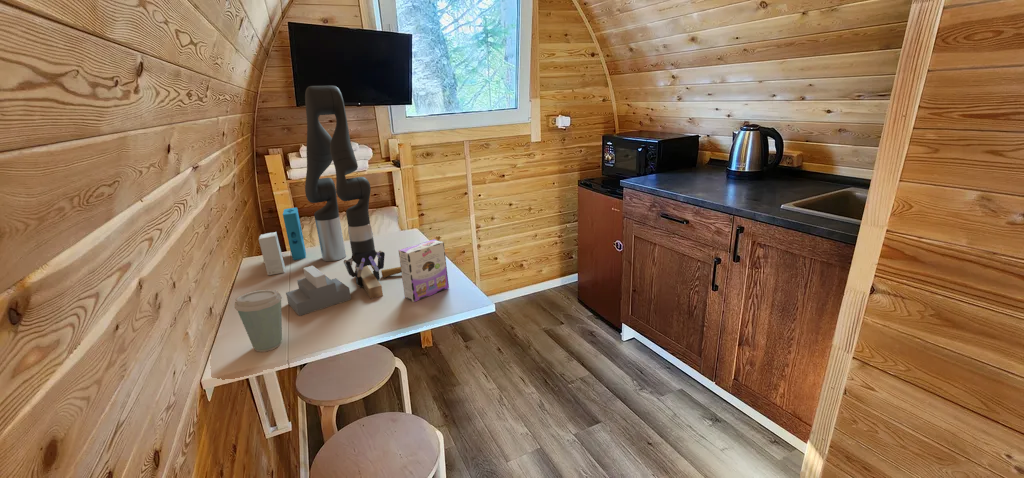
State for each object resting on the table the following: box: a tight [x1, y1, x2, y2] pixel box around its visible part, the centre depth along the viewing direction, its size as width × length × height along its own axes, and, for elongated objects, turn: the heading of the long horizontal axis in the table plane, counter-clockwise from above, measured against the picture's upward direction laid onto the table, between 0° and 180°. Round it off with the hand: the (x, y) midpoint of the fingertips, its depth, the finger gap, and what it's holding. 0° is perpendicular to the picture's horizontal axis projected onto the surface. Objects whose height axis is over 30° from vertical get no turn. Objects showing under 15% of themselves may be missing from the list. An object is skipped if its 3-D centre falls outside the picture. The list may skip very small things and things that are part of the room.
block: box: [282, 207, 307, 261], centre depth 185 cm, size 12×5×20 cm, turn 23°
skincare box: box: [258, 231, 286, 276], centre depth 170 cm, size 8×6×15 cm
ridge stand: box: [285, 265, 352, 317], centre depth 141 cm, size 12×16×10 cm
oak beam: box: [361, 265, 384, 300], centre depth 153 cm, size 4×24×4 cm, turn 29°
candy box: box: [398, 239, 450, 303], centre depth 142 cm, size 14×6×16 cm, turn 134°
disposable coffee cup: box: [234, 289, 283, 353], centre depth 114 cm, size 11×11×15 cm
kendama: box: [380, 266, 402, 279], centre depth 161 cm, size 8×6×18 cm
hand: (368, 283), depth 153 cm, fingers open, 5 cm apart
